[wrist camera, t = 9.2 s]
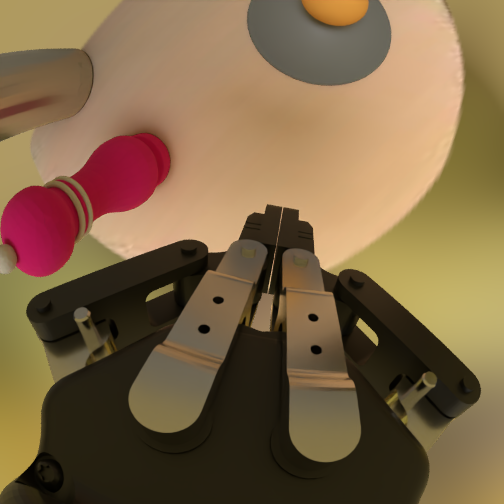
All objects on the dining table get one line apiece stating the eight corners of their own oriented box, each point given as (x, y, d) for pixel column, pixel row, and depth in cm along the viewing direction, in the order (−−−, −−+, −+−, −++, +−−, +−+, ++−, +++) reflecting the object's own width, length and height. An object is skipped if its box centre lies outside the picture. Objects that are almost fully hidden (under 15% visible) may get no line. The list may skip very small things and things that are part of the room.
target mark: (240, 74, 21) (239, 74, 21) (256, -38, 14) (255, -39, 14) (381, 101, 20) (382, 101, 20) (393, -12, 13) (394, -12, 13)
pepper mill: (120, 125, 25) (-42, 201, 8) (179, 133, 25) (10, 227, 8) (118, 184, 29) (-11, 291, 12) (171, 197, 29) (48, 332, 12)
